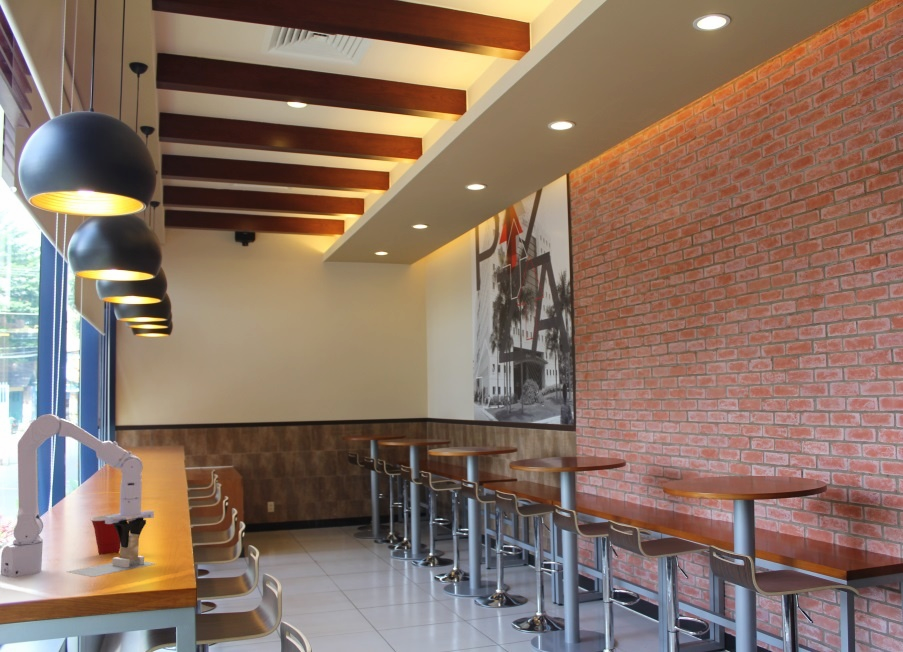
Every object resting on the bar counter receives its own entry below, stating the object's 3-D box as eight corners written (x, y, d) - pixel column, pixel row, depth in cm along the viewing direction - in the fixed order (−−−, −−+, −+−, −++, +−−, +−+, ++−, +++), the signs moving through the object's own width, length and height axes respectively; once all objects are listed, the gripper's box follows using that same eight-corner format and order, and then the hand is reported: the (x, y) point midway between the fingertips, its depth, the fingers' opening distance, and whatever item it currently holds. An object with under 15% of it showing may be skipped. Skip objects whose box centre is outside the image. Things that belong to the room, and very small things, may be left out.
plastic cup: (91, 552, 249) (92, 513, 250) (128, 550, 252) (129, 512, 253) (86, 558, 238) (87, 518, 240) (125, 556, 242) (126, 516, 243)
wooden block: (130, 561, 223) (131, 535, 224) (119, 559, 226) (120, 534, 226) (138, 559, 225) (138, 534, 226) (127, 557, 228) (128, 533, 228)
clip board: (92, 580, 209) (92, 569, 210) (66, 575, 216) (66, 564, 216) (156, 567, 226) (156, 556, 226) (130, 562, 233) (130, 552, 233)
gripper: (116, 501, 219) (114, 551, 218) (160, 496, 231) (159, 543, 230) (101, 500, 223) (99, 549, 221) (145, 494, 235) (144, 541, 234)
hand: (129, 546), depth 226 cm, fingers closed on wooden block, 2 cm apart
